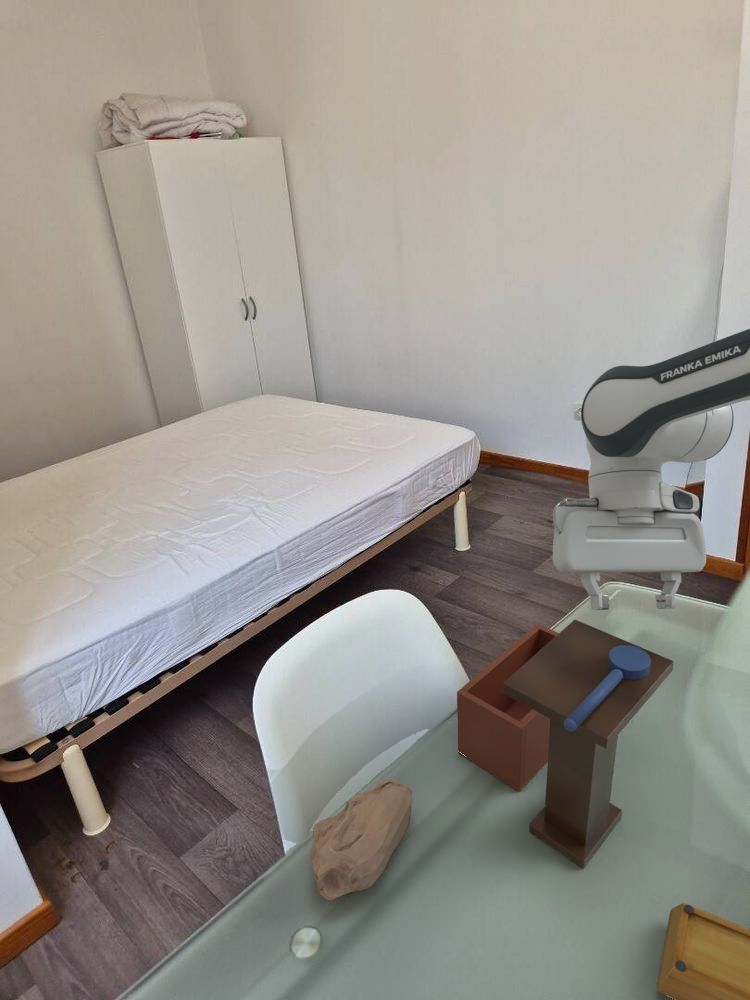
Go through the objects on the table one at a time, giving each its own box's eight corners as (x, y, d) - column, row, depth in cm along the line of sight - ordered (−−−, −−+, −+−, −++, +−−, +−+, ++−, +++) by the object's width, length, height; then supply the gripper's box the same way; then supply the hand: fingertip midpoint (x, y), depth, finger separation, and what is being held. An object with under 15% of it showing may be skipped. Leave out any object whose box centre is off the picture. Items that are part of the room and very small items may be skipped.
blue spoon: (586, 744, 70) (587, 733, 70) (547, 722, 73) (548, 712, 73) (656, 665, 80) (657, 655, 80) (619, 649, 83) (620, 639, 83)
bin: (535, 680, 117) (537, 623, 112) (594, 711, 110) (600, 651, 104) (457, 753, 104) (456, 691, 99) (519, 792, 97) (521, 728, 91)
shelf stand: (564, 764, 101) (574, 619, 89) (650, 814, 92) (674, 661, 81) (499, 836, 91) (502, 683, 79) (589, 899, 82) (607, 738, 71)
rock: (367, 870, 77) (291, 830, 80) (353, 935, 80) (280, 894, 83) (423, 777, 93) (358, 748, 97) (410, 834, 96) (347, 804, 100)
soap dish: (674, 888, 78) (669, 916, 80) (659, 969, 70) (653, 998, 72) (802, 940, 72) (792, 968, 74) (800, 1034, 64) (789, 1063, 66)
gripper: (566, 493, 82) (573, 610, 80) (709, 497, 87) (719, 608, 85) (540, 500, 88) (545, 610, 86) (675, 505, 93) (684, 608, 91)
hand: (633, 609), depth 85 cm, fingers open, 8 cm apart
